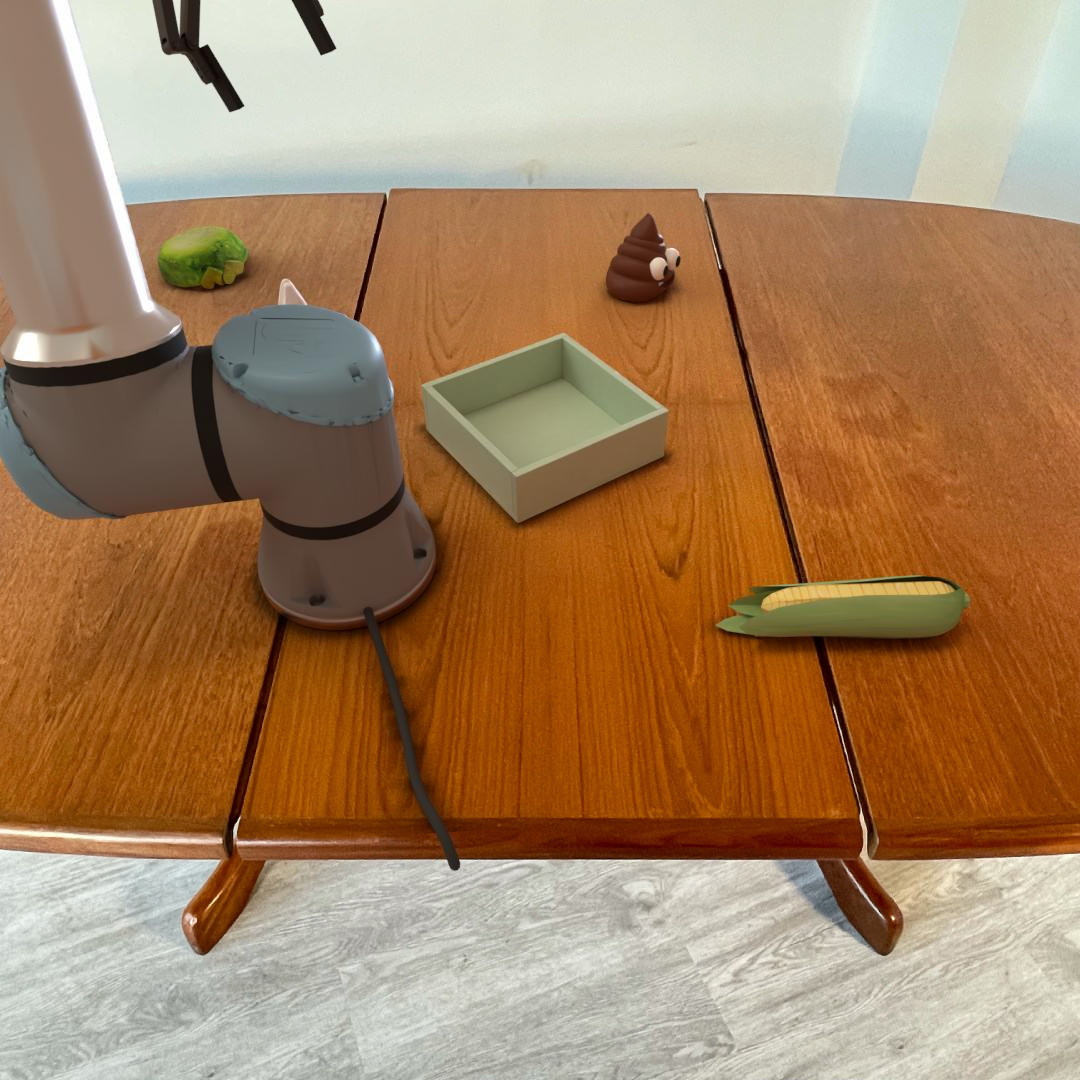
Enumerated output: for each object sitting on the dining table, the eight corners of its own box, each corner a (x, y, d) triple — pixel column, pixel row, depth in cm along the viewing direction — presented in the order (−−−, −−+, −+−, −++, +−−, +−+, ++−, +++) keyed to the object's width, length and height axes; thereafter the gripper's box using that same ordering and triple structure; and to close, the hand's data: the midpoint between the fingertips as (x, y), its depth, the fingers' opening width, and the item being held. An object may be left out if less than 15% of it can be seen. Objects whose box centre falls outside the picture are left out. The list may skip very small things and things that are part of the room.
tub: (664, 456, 88) (669, 410, 85) (517, 523, 81) (516, 477, 78) (563, 376, 99) (564, 332, 95) (426, 429, 92) (420, 384, 88)
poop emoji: (632, 263, 119) (637, 194, 112) (688, 280, 115) (697, 210, 108) (592, 293, 113) (594, 222, 106) (649, 312, 109) (655, 240, 103)
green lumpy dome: (266, 264, 119) (257, 228, 116) (205, 298, 112) (194, 261, 109) (206, 245, 124) (196, 210, 120) (145, 277, 117) (132, 241, 113)
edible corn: (967, 646, 71) (987, 608, 67) (720, 654, 70) (728, 616, 67) (944, 598, 74) (962, 561, 71) (709, 605, 74) (716, 568, 71)
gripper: (244, -172, 94) (348, 36, 106) (44, -77, 85) (183, 138, 97) (274, -199, 88) (380, 23, 101) (63, -100, 79) (209, 131, 91)
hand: (284, 80), depth 99 cm, fingers open, 13 cm apart
